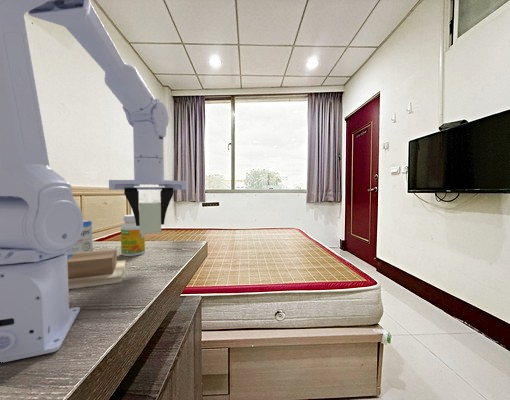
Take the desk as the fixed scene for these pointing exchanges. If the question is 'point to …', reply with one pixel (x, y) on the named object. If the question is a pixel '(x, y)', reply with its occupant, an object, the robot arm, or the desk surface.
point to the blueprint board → (99, 278)
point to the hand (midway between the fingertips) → (150, 224)
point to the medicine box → (83, 240)
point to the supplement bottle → (131, 238)
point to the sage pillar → (150, 217)
